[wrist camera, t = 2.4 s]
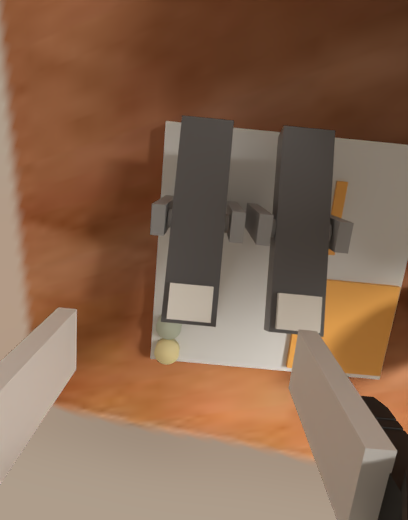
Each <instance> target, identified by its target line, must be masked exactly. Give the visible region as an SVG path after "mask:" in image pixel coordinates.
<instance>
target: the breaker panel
mask: <svg viewBox="0 0 408 520" xmlns="http://www.w3.org/2000/svg"><path fill="white" fill-rule="evenodd" d="M180 131H181V122H172V121H166V125H165V140H164V155H163V171H162V186H161V198H160V199H159V200H157V201H156V202H154V203H152V212H151V228H150V235H158V248H157V263H156V279H155V294H154V309H153V325H152V340H151V356H150V359H156V360H157V361H158V362H160V363H162V364H166V365H168V364H172V363H174V362H175V361H181V362H192V363H203V364H214V365H225V366H236V367H247V368H258V369H269V370H280V371H292V365H293V359H294V354H295V348H296V342H297V336H298V335H297V334H287V333H276V332H268V331H266V330H264V319H265V306H266V292H267V279H268V265H269V252H270V239H271V232H272V225H273V218H274V215H273V214H272V211H273V198H274V184H275V171H276V157H277V144H278V136H279V134H280V132H274V131H264V130H253V129H243V128H233V137H232V149H231V160H230V171H229V183H228V194H227V205H226V214H229V223H228V231H227V233H224V240H223V251H222V262H221V274H220V285H219V297H218V308H217V319H216V327H211V326H200V325H189V324H178V323H167V322H161V314H162V304H163V295H164V285H165V276H166V266H167V256H168V247H169V237H170V227H168V213H169V209H172V208H173V198H174V189H175V179H176V170H177V160H178V150H179V141H180ZM330 224H331V226H332V236H331V239H330V241H329V250H328V268H327V286H326V303H325V321H324V337H321V338H322V339H323V341H324V342H325V344H326V345H327V347H328V348H329V350H330V351H331V353H332V354H333V356H334V357H335V359H336V360H337V362H338V363H339V365H340V366H341V368H342V369H343V371H344V372H345V374H346V375H347V377H357V378H368V379H379V380H380V375H381V371H382V367H383V363H384V358H385V354H386V350H387V346H388V341H389V337H390V333H391V329H392V324H393V320H394V316H395V312H396V307H397V303H398V299H399V295H400V290H401V286H402V282H403V278H404V274H405V269H406V265H407V261H408V145H406V144H396V143H385V142H375V141H365V140H355V139H345V138H335V145H334V163H333V180H332V198H331V215H330Z"/></svg>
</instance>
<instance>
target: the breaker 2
mask: <svg viewBox="0 0 408 520" xmlns="http://www.w3.org/2000/svg"><path fill="white" fill-rule="evenodd" d="M334 145H335V130H324V129H314V128H304V127H294V126H283V128H282V130H281V132H280V134H279V136H278V144H277V157H276V171H275V184H274V198H273V211H272V214H273V215H274V218H273V225H272V232H271V239H270V252H269V265H268V279H267V292H266V306H265V319H264V330H266V331H268V332H276V333H287V334H297V335H298V330H299V329H300V330H311V331H317V332H318V333H319V335H320V336H321V337H324V321H325V303H326V286H327V268H328V250H329V241H330V239H331V236H332V226H331V224H330V215H331V198H332V180H333V163H334Z"/></svg>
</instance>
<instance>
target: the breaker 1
mask: <svg viewBox="0 0 408 520" xmlns="http://www.w3.org/2000/svg"><path fill="white" fill-rule="evenodd" d="M233 126H234V121H233V120H223V119H213V118H203V117H193V116H183V115H182V121H181V131H180V141H179V150H178V160H177V170H176V179H175V189H174V198H173V208H172V209H169V213H168V227H170V237H169V247H168V256H167V266H166V276H165V285H164V295H163V304H162V314H161V322H167V323H178V324H189V325H200V326H211V327H216V319H217V308H218V297H219V285H220V274H221V262H222V251H223V240H224V233H227V231H228V223H229V214H226V205H227V194H228V183H229V171H230V160H231V149H232V137H233Z"/></svg>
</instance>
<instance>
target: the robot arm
mask: <svg viewBox="0 0 408 520" xmlns="http://www.w3.org/2000/svg"><path fill="white" fill-rule="evenodd" d="M76 352H77V309H70V308H59V307H58V308H57V309H56V310H55V311H54V312H53V313H52V314H51V315H50V316H48V317H47V318H46V319H45V320H44V321H43V322H42V323H41V324H40V325H39V326H38V327H37V328H35V329H34V330H33V331H32V332H31V333H30V334H29V335H28V336H27V337H26V338H25V339H23V340H22V341H21V342H20V343H19V344H18V345H17V346H16V347H15V348H14V349H13V350H12V351H11V352H9V353H8V355H6V356H5V357H4V358H3V359H2V360H1V361H0V484H1V483H2V481H3V480H4V478H5V477H6V475H7V474H8V472H9V471H10V469H11V467H12V466H13V464H14V463H15V461H16V460H17V458H18V457H19V455H20V454H21V452H22V451H23V449H24V448H25V446H26V445H27V443H28V442H29V440H30V439H31V437H32V436H33V434H34V433H35V431H36V430H37V428H38V427H39V425H40V423H41V422H42V420H43V419H44V417H45V416H46V414H47V413H48V411H49V410H50V408H51V407H52V405H53V404H54V402H55V401H56V399H57V398H58V396H59V395H60V393H61V392H62V390H63V389H64V387H65V386H66V384H67V383H68V381H69V380H70V378H71V377H72V375H73V373H74V372H75V370H76ZM289 390H290V393H291V396H292V399H293V401H294V404H295V407H296V410H297V412H298V415H299V418H300V420H301V423H302V426H303V429H304V431H305V434H306V437H307V440H308V442H309V445H310V448H311V450H312V453H313V456H314V459H315V461H316V464H317V467H318V470H319V472H320V475H321V478H322V480H323V483H324V486H325V489H326V491H327V494H328V497H329V500H330V502H331V505H332V508H333V510H334V513H335V516H336V519H337V520H408V434H407V433H406V432H405V431H403V428H402V426H401V425H400V424H399V422H398V421H396V418H395V417H394V416H393V415H392V413H391V412H390V411H389V409H388V408H387V407H386V406H385V405H383V404H382V403H381V402H379V401H378V400H377V399H375V398H374V397H367V396H360V395H359V393H358V392H357V390H356V389H355V387H354V386H353V384H352V383H351V381H350V380H349V378H348V377H347V375H346V374H345V372H344V371H343V369H342V368H341V366H340V365H339V363H338V362H337V360H336V359H335V357H334V356H333V354H332V353H331V351H330V350H329V348H328V347H327V345H326V344H325V342H324V341H323V339H322V338H321V336H320V335H319V333H318V332H317V331H311V330H300V329H299V330H298V336H297V342H296V348H295V354H294V359H293V365H292V371H291V377H290V383H289Z"/></svg>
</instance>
